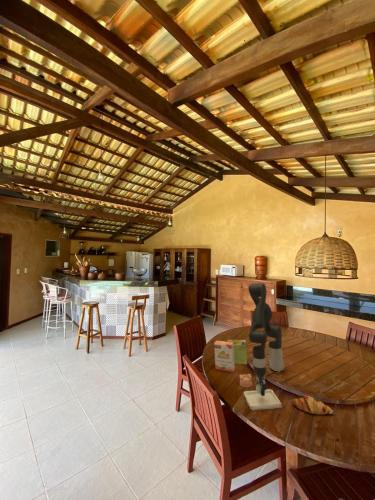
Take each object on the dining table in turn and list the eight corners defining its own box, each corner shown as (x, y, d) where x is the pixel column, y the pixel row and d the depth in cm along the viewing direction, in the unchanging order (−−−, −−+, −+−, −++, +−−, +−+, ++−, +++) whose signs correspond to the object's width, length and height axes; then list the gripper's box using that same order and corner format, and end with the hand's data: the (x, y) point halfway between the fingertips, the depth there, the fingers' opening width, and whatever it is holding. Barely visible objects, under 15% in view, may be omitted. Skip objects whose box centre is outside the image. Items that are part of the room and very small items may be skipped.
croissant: (333, 417, 127) (331, 400, 130) (335, 420, 119) (333, 402, 122) (291, 407, 136) (290, 391, 139) (290, 409, 128) (290, 392, 131)
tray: (271, 392, 146) (271, 389, 146) (281, 407, 132) (281, 403, 132) (243, 395, 145) (243, 391, 145) (250, 410, 131) (250, 406, 131)
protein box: (247, 364, 183) (246, 345, 184) (228, 363, 187) (226, 344, 187) (246, 358, 194) (245, 339, 194) (228, 357, 197) (227, 339, 197)
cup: (250, 379, 161) (249, 372, 161) (254, 386, 153) (253, 378, 153) (238, 380, 161) (237, 373, 161) (241, 387, 153) (241, 379, 153)
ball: (263, 390, 141) (263, 381, 141) (267, 396, 136) (266, 386, 136) (254, 391, 141) (254, 382, 141) (257, 396, 135) (257, 387, 135)
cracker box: (215, 369, 178) (213, 342, 178) (217, 366, 183) (216, 340, 183) (233, 372, 172) (231, 345, 172) (235, 369, 177) (233, 342, 178)
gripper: (270, 369, 131) (271, 399, 131) (261, 358, 146) (262, 385, 146) (257, 370, 131) (259, 400, 131) (249, 359, 145) (251, 386, 145)
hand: (260, 392), depth 138 cm, fingers closed on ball, 5 cm apart
